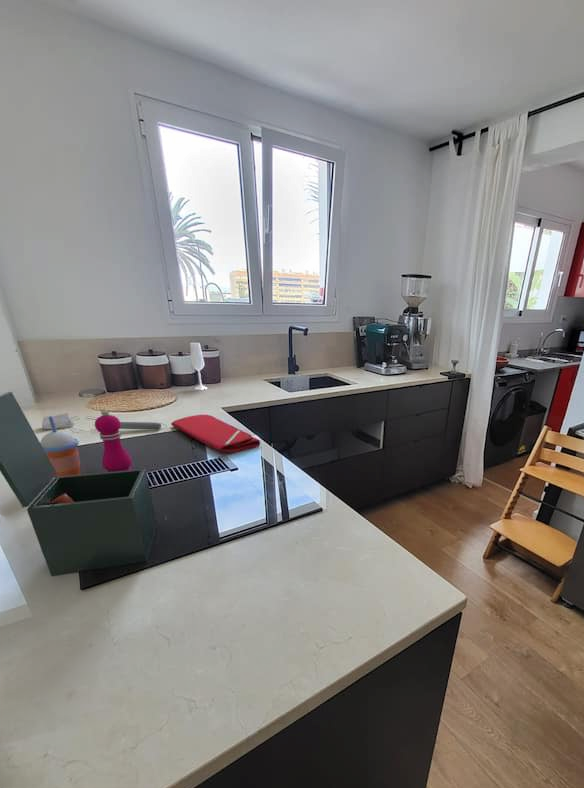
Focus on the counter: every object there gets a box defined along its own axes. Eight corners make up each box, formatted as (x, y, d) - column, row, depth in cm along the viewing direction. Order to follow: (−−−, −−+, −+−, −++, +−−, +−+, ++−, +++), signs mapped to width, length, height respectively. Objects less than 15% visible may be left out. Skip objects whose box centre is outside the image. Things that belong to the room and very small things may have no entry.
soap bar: (48, 438, 150) (38, 426, 146) (46, 429, 154) (36, 418, 150) (76, 427, 153) (66, 415, 149) (74, 418, 157) (65, 407, 153)
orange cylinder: (99, 550, 81) (49, 504, 75) (103, 543, 83) (54, 498, 77) (111, 543, 81) (62, 497, 75) (114, 536, 84) (67, 491, 78)
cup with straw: (43, 478, 112) (23, 417, 105) (78, 467, 119) (62, 410, 112) (56, 487, 107) (36, 424, 100) (93, 475, 114) (76, 416, 107)
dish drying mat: (209, 419, 166) (208, 410, 164) (261, 445, 140) (261, 435, 138) (171, 427, 155) (169, 418, 154) (220, 457, 129) (219, 446, 128)
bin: (157, 526, 91) (145, 468, 85) (147, 561, 79) (131, 497, 73) (75, 536, 87) (56, 476, 81) (51, 576, 75) (26, 509, 69)
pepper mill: (124, 469, 119) (108, 405, 111) (140, 474, 116) (125, 408, 108) (100, 478, 113) (82, 411, 105) (116, 483, 110) (99, 415, 102)
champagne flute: (201, 390, 212) (195, 344, 202) (192, 389, 214) (185, 343, 204) (210, 387, 217) (204, 343, 208) (200, 386, 219) (194, 342, 210)
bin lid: (11, 391, 73) (6, 392, 72) (-31, 411, 61) (-37, 413, 61) (57, 474, 80) (53, 475, 80) (28, 506, 69) (23, 507, 68)
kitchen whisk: (165, 431, 150) (162, 415, 148) (66, 436, 144) (61, 419, 141) (168, 426, 156) (166, 411, 153) (73, 430, 149) (69, 414, 146)
